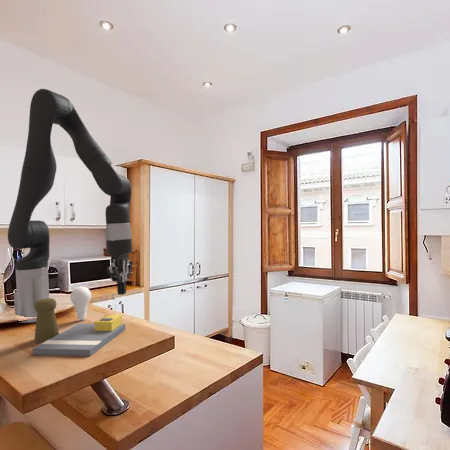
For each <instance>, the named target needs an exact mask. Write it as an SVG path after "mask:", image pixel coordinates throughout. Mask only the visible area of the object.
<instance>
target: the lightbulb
mask: <svg viewBox="0 0 450 450" xmlns="http://www.w3.org/2000/svg"><path fill="white" fill-rule="evenodd" d="M69 297H70V301H71V303H72V305H74V308H75V313H76V315H77V320H79V321H84V320H85V319H86V318H87V312H88V304H89V303H90V301H91V299H92V293H91V291H90V289H89V288H88V287H85V286H83V285H82V286H81V285H80V286H78V287H76V288H74V289H73V290H72V291H71V293H70V296H69Z"/></svg>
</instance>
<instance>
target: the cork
mask: <svg viewBox="0 0 450 450" xmlns="http://www.w3.org/2000/svg"><path fill="white" fill-rule="evenodd" d="M55 309H57V301H56V299H54V298H53V297H49V298H45V299H41V300H38V301H37V302H36V303H35V310H36V312H37V320H36V322H35V332H34V340H33V342H34V343H36V344H42V343H44V342H45V341H47V340H49V339H51V338H53V337H55V336H57V335H58V334H60V331H59V327H58V326H59V325H58V322H57V316H56V310H55Z"/></svg>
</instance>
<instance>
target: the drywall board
mask: <svg viewBox="0 0 450 450" xmlns="http://www.w3.org/2000/svg"><path fill="white" fill-rule="evenodd" d="M125 330H126V323H122V324H121V325H120V326H118V327H117V328H116V329H114V330H113V331H95V323H76V324H75V325H73V326H71V327H70V328H69V327H68V329H66V330H64V331H62V332H61V333H60V332H59V334H58V335H57V336H55V337H53V338H51V339H49V340H47V341H45V342H44V343H39V344H38V345H36V346H35V347H33V348H32V355H34V356H37V355H39V356H70V357H71V356H73V357H74V356H76V357H77V356H78V357H81V356H82V357H91V356H92V355H94V354H95V353H96V352H98V351H100V349H102V348H103V347H104V346H106V345H107V344H108V343H109V342H111V341H113V339H114V338H116V337H118V336H119V335H121V333H123V332H124V331H125Z"/></svg>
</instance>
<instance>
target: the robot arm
mask: <svg viewBox="0 0 450 450" xmlns="http://www.w3.org/2000/svg"><path fill="white" fill-rule="evenodd" d="M28 118H29V119H28V121H29V122H28V131H27V132H28V135H27V141H26V147H25V152H24V153H25V154H24V158H23V163H22V167H21V173H20V178H19V179H20V180H19V186H18V191H17V195H16V197H17V198H16V200H15V204H14V205H15V206H14V208H13V212H12V215H11V218H10V222H9V226H8V230H7V242H8V244H9V246H10V247H11V248H12V249H15V250H19V249H20V250H23V249H29V252H28V254H26V255H25V256H23V257H22V258H19V259H18V260H16V262H15V281H16V283H15V284H16V291H15V292H14V294H13V298H14V299H13V300H14V315H15V314H16V315H19V316H24V317H37V312H36V310H35V303H36V302H37V301H38V300H41V299H45V298H50V287H49V285H50V284H49V259H50V230H49V227H48V225H47V223H46V222H45V221H44V220H32V219H31V218H32V216H33V212H34V211H35V209H36V207H37V206H38V205H39V203H41V202H42V200H43V199H44V198H45V197H46V196H47V195H48V194H49V192H50V191H51V190H52V188H53V186H54V184H55V178H56V173H57V161H56V156H55V153H54V150H53V147H52V143H51V142H52V141H51V137H52V128H53V125H59V127H60V128H61V129H63V130H64V131H65V132H66V133H67V135H69V137H70V138H71V140H72V142H73V143H72V144H73V147H74V150H75V152H76V154H77V156H78V158H79V159H80V161H81V162H82V163H83V165H84V166H85V167H86V168H87V170H89V172H90V173H91V175H92V178H93V179H94V181H95V183H96V185H97V186H98V188H99V189H100V190H101V192H102V193H104V194H106V195H107V196H110V199H109V205H107V206H106V208H105V243H106V246H105V247H106V254H107V255H110V265H109V266H107V267H106V272H107V274H108V275H109V277H110V280H111V281H112V282H114V283H116V288H117V289H116V290H117V295H119V296H122V295H125V294H127V281H128V279H129V278H130V276H131V273H132V269H133V266H134V261H130V256H129V254H131V253H133V240H132V226H131V217H130V207H131V206H130V205H131V200H132V199H131V198H132V184H131V181H130V180H129V179H128V178H127V176H124V175H121V174H120V173H118V172H117V171H116V170H115V169H114V167H113V166H112V160H111V159H110V157H109V156H108V155H107V154H106V153H105V151H104V149H102V147H101V146H99V144H98V142H97V141H96V140H95V138H94V137H93V136H92V135H91V133H90V132H89V130H88V128H87V127H86V125H85V123H84V122H83V120H82V118H81V117H80V115H79V113H78V111H77V110H76V107H75V106H74V104H73V103H72V102H71V100H70V99H69V98H67V97H65V96H64V95H62V94H60V93H57V92H55V91H53V90H50V89H46V88H40V89H38V90H36V91H35V93H34V94H33V95H32V97H31V101H30V105H29V117H28ZM36 320H37V318H34V319H29V320H26V321H22V322H19V323H22V324H27V323H29V324H30V323H36Z"/></svg>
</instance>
